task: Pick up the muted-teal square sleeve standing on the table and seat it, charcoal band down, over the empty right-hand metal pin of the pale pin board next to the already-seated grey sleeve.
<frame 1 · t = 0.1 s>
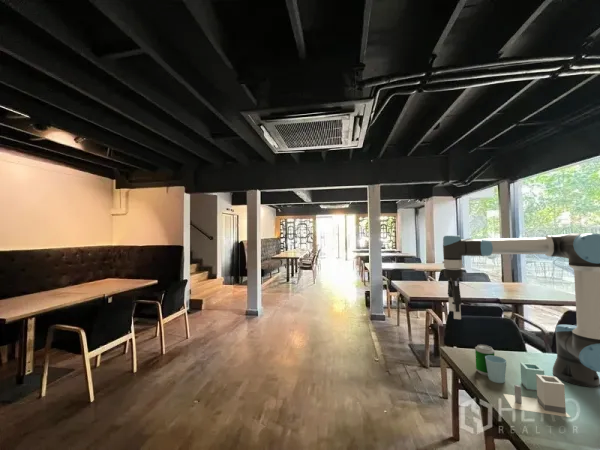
hand: (454, 314, 132), 28 cm above the table, fingers open, 13 cm apart
cup: (496, 383, 125), on the table
soda can: (485, 373, 134), on the table
teal sleeve: (533, 391, 118), on the table
grey sleeve: (551, 407, 105), point 1 cm above the table, touching pin board
pin board: (534, 408, 106), on the table
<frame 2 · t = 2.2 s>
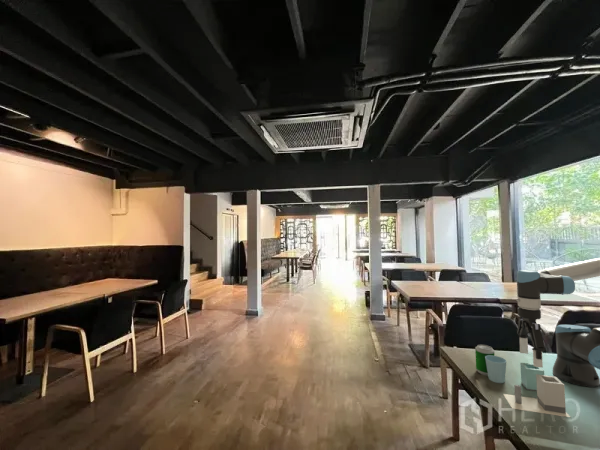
hand: (530, 359, 118), 13 cm above the table, fingers open, 13 cm apart
nothing on the table moved.
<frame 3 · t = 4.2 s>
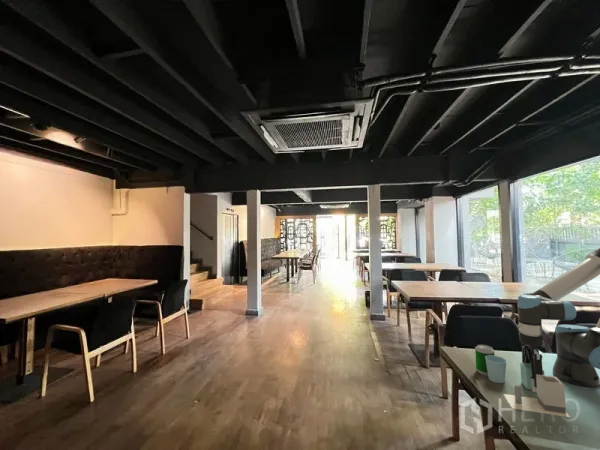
hand: (533, 390, 118), 0 cm above the table, fingers closed on teal sleeve, 6 cm apart
teal sleeve: (533, 391, 118), on the table, touching gripper
everything else where it was.
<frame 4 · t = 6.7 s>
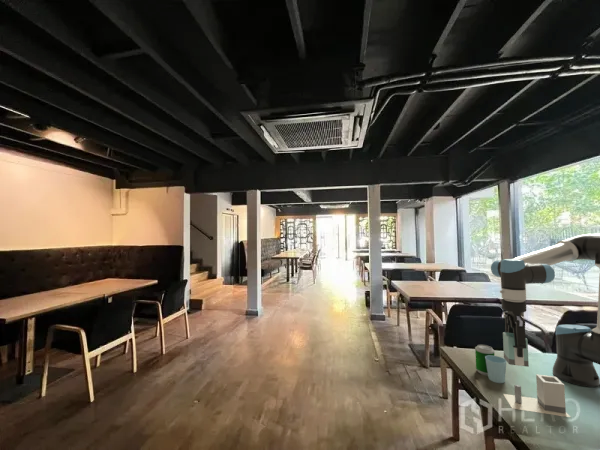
hand: (516, 361, 109), 17 cm above the table, fingers closed on teal sleeve, 6 cm apart
teal sleeve: (515, 362, 109), point 16 cm above the table, touching gripper
everything else where it was.
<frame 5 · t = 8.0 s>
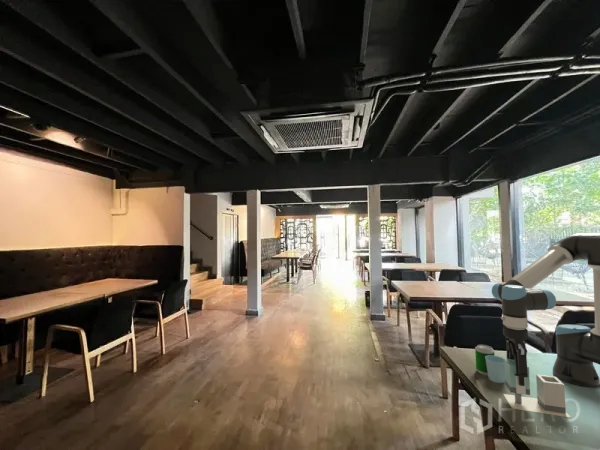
hand: (517, 388, 108), 7 cm above the table, fingers closed on teal sleeve, 6 cm apart
teal sleeve: (517, 389, 108), point 6 cm above the table, touching gripper
everything else where it was.
when the fingers open (4 cm above the table, at t = 9.1 s): teal sleeve drops 3 cm, resting on pin board.
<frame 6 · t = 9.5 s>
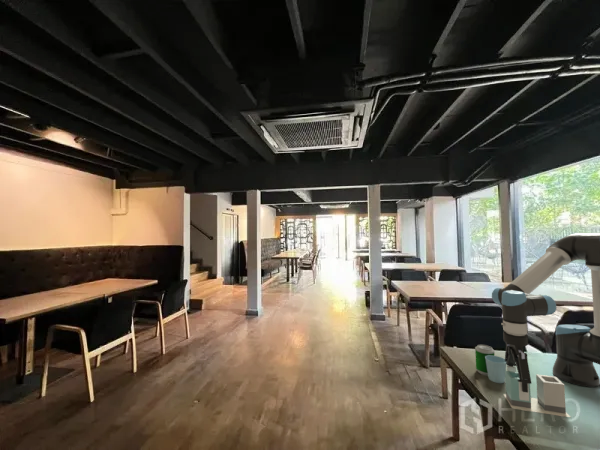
hand: (517, 391, 108), 6 cm above the table, fingers open, 11 cm apart
teal sleeve: (518, 402, 108), point 1 cm above the table, touching pin board
everything else where it was.
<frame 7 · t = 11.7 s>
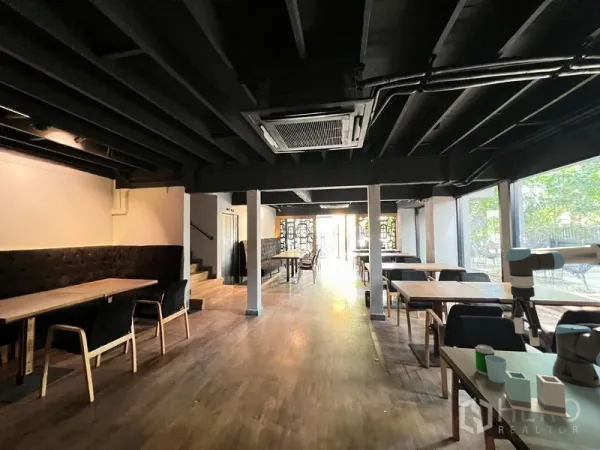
hand: (526, 339, 115), 22 cm above the table, fingers open, 13 cm apart
nothing on the table moved.
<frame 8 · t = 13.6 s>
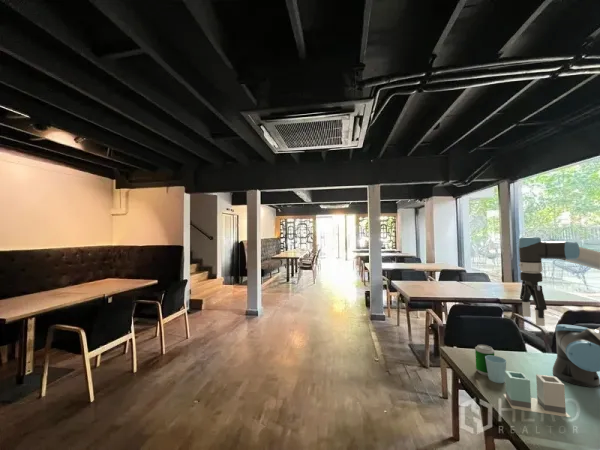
hand: (533, 320, 125), 27 cm above the table, fingers open, 13 cm apart
nothing on the table moved.
at the end: teal sleeve 0.1 cm from the target spot on the pin board, point 1.5 cm above the pin board's base; teal sleeve tilted 0°; the gripper is holding nothing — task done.
